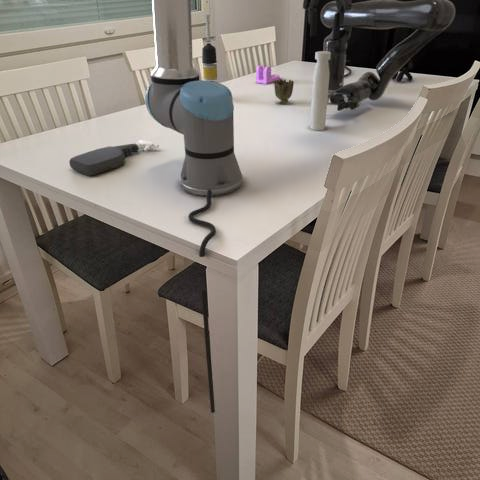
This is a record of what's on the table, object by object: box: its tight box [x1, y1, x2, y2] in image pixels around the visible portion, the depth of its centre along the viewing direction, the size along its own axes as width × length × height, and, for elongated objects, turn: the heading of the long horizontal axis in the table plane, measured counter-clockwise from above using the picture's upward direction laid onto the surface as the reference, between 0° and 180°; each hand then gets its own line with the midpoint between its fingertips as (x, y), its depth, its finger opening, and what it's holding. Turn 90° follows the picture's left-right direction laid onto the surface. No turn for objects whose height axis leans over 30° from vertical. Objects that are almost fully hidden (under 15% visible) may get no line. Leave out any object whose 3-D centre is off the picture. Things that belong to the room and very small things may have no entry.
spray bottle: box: [68, 139, 160, 177], centre depth 124 cm, size 3×11×24 cm
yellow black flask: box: [201, 14, 219, 83], centre depth 171 cm, size 6×6×30 cm
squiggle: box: [391, 57, 414, 83], centre depth 198 cm, size 11×10×15 cm
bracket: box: [255, 65, 281, 85], centre depth 202 cm, size 13×6×7 cm, turn 143°
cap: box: [314, 50, 331, 61], centre depth 134 cm, size 4×4×2 cm
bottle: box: [309, 60, 330, 131], centre depth 140 cm, size 5×5×23 cm
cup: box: [273, 78, 295, 105], centre depth 169 cm, size 8×7×8 cm
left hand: (324, 36), depth 131 cm, fingers open, 7 cm apart
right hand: (326, 105), depth 145 cm, fingers open, 8 cm apart
